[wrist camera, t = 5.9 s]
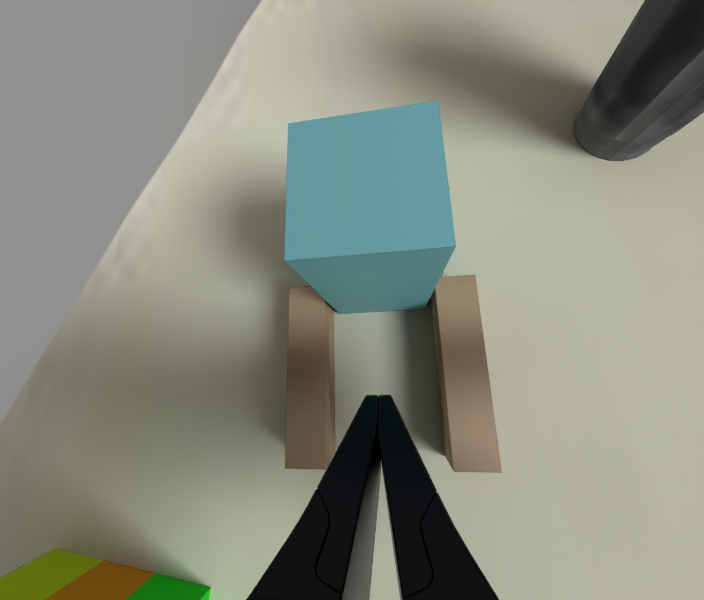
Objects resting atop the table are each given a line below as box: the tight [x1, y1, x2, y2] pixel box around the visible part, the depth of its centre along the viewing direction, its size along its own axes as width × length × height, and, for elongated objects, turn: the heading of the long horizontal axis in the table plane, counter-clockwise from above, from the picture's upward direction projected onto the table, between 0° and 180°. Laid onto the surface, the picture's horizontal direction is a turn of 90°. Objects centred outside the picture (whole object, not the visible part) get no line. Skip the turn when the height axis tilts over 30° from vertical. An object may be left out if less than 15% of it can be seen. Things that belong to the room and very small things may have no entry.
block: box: [284, 101, 456, 314], centre depth 13 cm, size 5×5×9 cm
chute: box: [285, 275, 502, 473], centre depth 15 cm, size 9×10×2 cm
